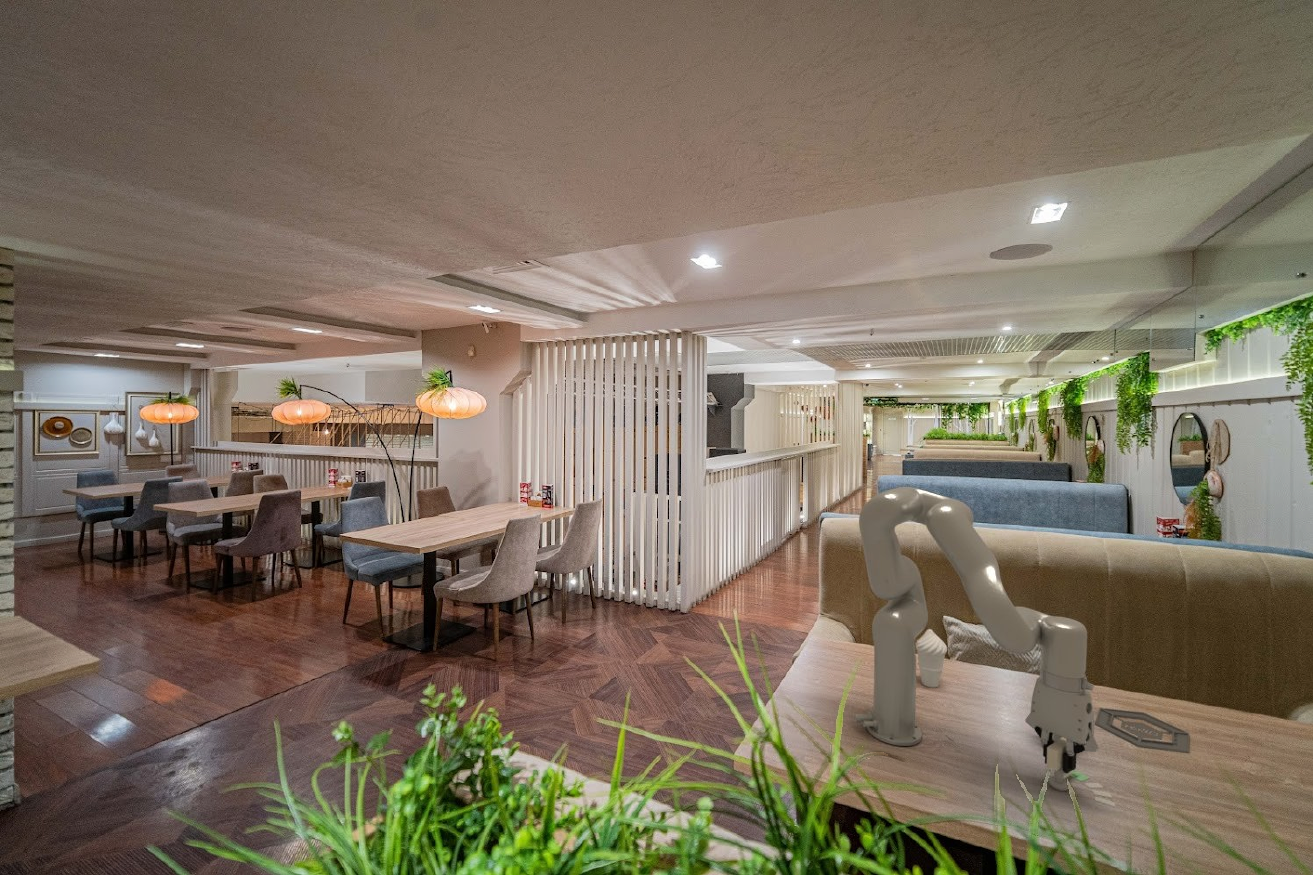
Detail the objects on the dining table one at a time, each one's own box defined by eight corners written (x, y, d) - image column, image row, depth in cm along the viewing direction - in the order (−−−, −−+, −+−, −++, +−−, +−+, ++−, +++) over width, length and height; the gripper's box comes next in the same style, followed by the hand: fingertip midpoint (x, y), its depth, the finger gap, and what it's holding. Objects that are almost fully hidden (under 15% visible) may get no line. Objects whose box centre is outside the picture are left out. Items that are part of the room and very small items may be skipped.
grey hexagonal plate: (1092, 733, 138) (1092, 730, 138) (1101, 703, 153) (1101, 700, 153) (1189, 764, 127) (1189, 760, 127) (1189, 728, 141) (1189, 725, 141)
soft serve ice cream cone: (951, 691, 159) (953, 635, 158) (922, 691, 159) (923, 635, 158) (937, 677, 167) (938, 624, 167) (909, 677, 167) (910, 624, 167)
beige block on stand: (1059, 796, 113) (1061, 753, 113) (1042, 787, 116) (1043, 745, 115) (1083, 777, 119) (1084, 736, 119) (1066, 769, 122) (1067, 729, 121)
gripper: (1118, 691, 110) (1114, 782, 111) (1028, 660, 124) (1025, 741, 125) (1101, 701, 106) (1098, 795, 107) (1010, 668, 120) (1008, 752, 121)
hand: (1059, 765), depth 116 cm, fingers open, 2 cm apart
